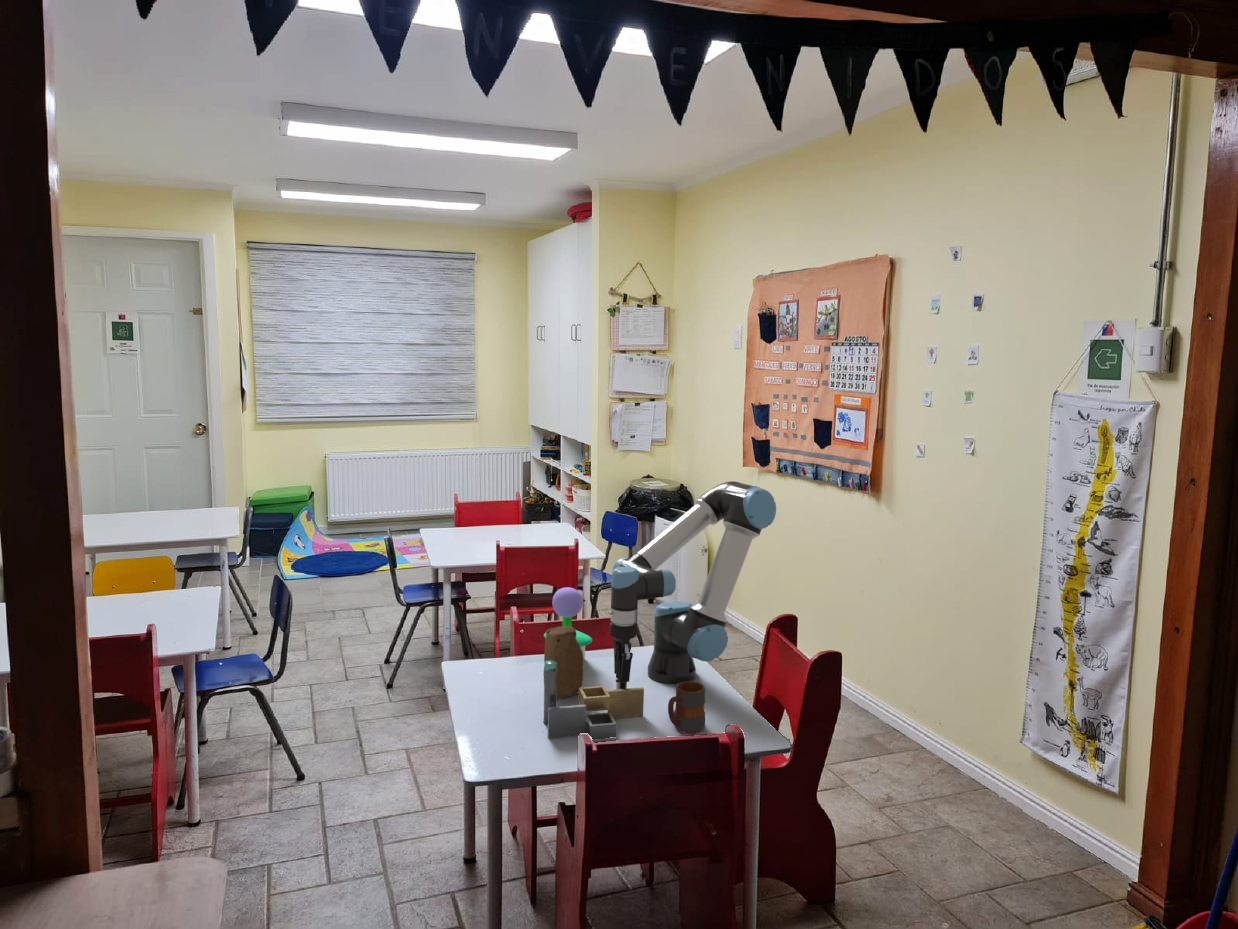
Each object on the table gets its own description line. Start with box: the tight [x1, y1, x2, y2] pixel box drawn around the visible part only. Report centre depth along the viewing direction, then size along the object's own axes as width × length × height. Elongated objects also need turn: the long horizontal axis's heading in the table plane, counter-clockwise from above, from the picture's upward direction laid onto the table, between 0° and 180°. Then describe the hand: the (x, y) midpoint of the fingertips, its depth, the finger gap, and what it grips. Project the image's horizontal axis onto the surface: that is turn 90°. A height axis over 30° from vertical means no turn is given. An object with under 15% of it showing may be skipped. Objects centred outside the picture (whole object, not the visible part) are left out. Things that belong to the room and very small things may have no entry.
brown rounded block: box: [543, 625, 584, 699], centre depth 252 cm, size 11×8×20 cm
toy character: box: [543, 586, 593, 660], centre depth 276 cm, size 15×12×25 cm
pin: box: [543, 660, 558, 726], centre depth 233 cm, size 3×3×17 cm
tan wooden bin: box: [578, 685, 645, 719], centre depth 237 cm, size 18×7×8 cm, turn 104°
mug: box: [667, 680, 706, 734], centre depth 232 cm, size 9×12×12 cm
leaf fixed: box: [547, 704, 618, 741], centre depth 227 cm, size 18×7×8 cm, turn 104°
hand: (620, 701), depth 245 cm, fingers closed
